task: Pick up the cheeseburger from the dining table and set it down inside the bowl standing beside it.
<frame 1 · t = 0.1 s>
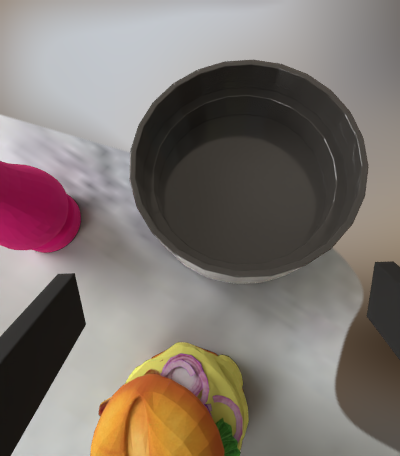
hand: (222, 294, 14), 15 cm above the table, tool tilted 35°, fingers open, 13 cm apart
bowl: (240, 188, 31), on the table
pepper mill: (52, 222, 32), on the table
cheeseburger: (183, 408, 27), on the table
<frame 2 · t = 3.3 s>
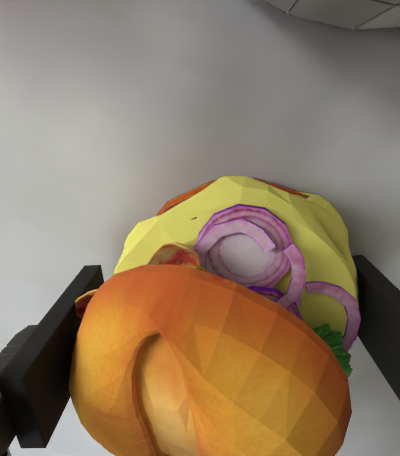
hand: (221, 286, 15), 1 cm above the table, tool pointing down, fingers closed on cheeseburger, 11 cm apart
cheeseburger: (226, 273, 16), on the table, touching gripper
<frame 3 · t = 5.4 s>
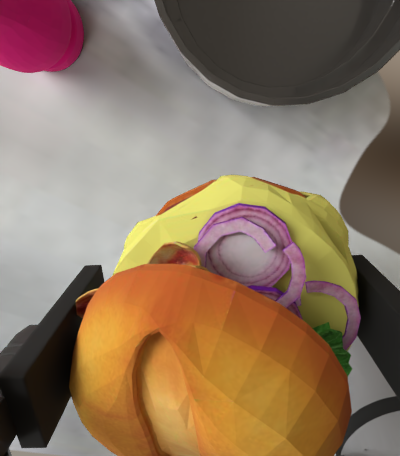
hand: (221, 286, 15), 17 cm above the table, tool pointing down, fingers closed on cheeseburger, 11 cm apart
pepper mill: (48, 31, 27), on the table
cheeseburger: (226, 273, 16), point 16 cm above the table, touching gripper
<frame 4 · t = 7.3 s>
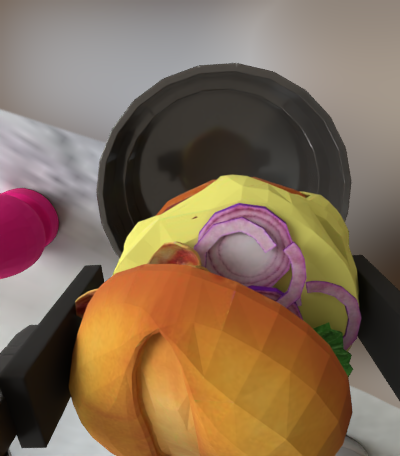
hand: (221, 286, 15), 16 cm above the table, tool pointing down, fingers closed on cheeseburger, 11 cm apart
bowl: (219, 184, 30), on the table
pepper mill: (29, 218, 32), on the table
cheeseburger: (226, 273, 16), point 15 cm above the table, touching gripper
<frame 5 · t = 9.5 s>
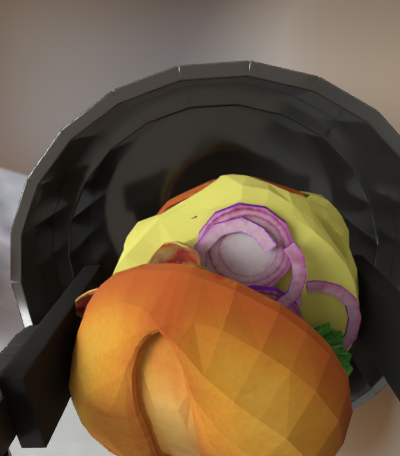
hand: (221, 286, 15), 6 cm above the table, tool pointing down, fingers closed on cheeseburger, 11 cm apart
bowl: (218, 241, 20), on the table
cheeseburger: (226, 273, 16), point 4 cm above the table, touching gripper
when the fingers open (2 cm above the table, at t = 11.3 s): cheeseburger stays where it is, resting on bowl.
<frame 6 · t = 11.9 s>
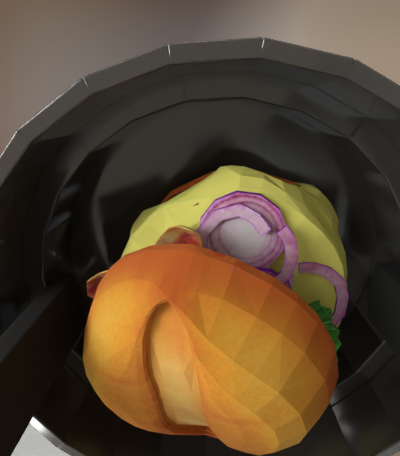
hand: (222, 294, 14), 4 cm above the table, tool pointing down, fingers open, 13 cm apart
bowl: (220, 256, 17), on the table
cheeseburger: (225, 260, 17), resting on bowl
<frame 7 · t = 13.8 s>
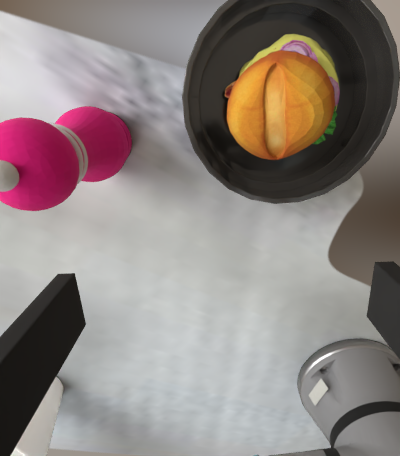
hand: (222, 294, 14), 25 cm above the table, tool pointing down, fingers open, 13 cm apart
bowl: (274, 101, 34), on the table
pepper mill: (105, 140, 36), on the table
cup: (42, 385, 50), on the table
cheeseburger: (278, 101, 33), resting on bowl
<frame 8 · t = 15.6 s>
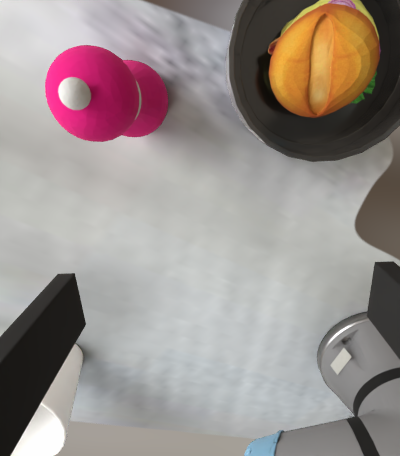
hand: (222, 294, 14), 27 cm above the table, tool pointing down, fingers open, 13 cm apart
bowl: (311, 65, 35), on the table
pepper mill: (141, 101, 37), on the table
cup: (62, 354, 50), on the table
cheeseburger: (314, 65, 34), resting on bowl
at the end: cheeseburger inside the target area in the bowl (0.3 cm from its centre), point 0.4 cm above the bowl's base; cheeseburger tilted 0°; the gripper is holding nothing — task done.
